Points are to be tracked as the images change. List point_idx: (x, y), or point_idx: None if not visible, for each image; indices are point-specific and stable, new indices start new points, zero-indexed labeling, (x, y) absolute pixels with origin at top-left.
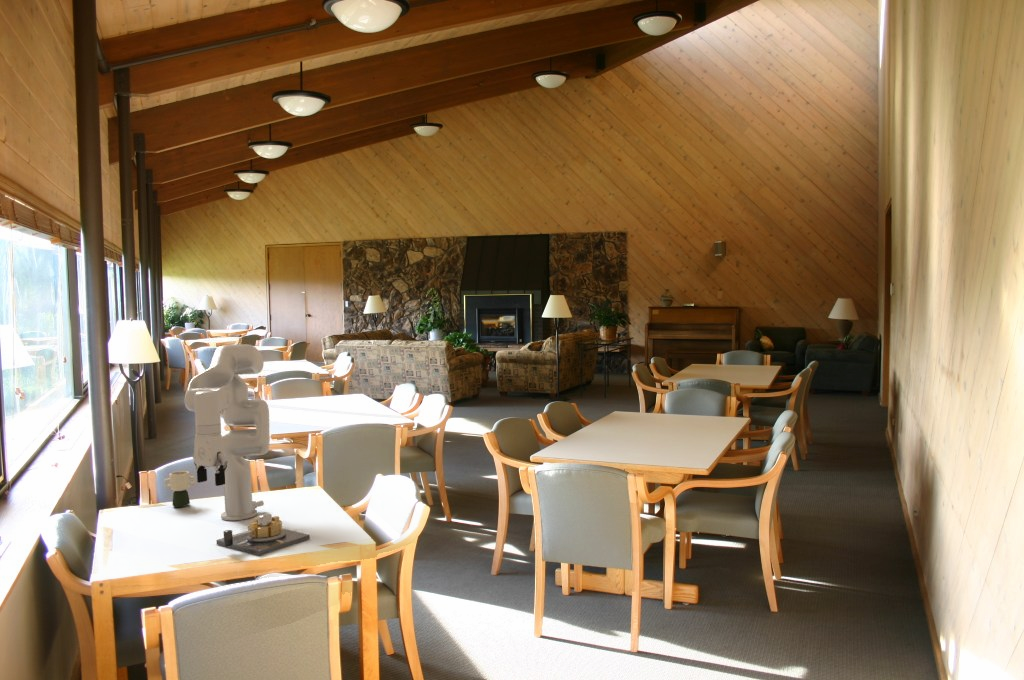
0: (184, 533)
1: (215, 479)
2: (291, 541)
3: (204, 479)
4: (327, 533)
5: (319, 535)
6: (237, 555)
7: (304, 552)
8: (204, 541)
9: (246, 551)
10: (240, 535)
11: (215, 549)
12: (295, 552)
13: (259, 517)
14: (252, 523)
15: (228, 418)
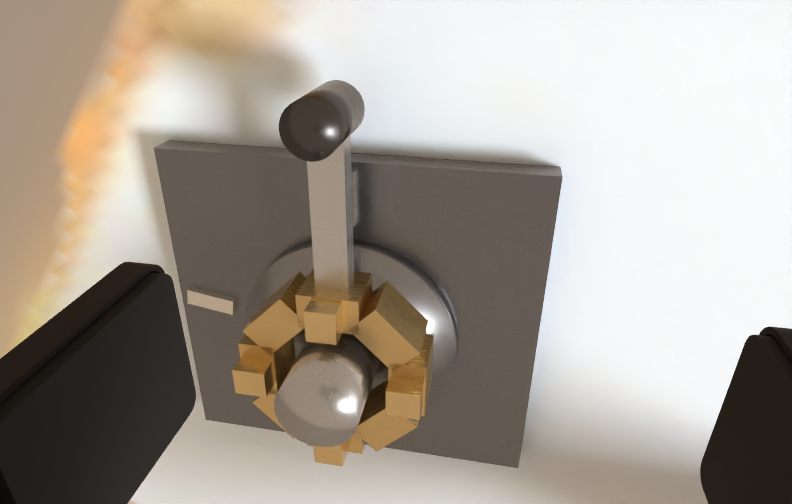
0: None
1: (71, 327)
2: (191, 332)
3: (724, 458)
4: (229, 477)
5: (231, 451)
6: (269, 90)
7: (68, 274)
8: (699, 175)
9: (266, 149)
10: (311, 197)
11: (484, 99)
12: (95, 258)
13: (308, 378)
14: (323, 321)
15: None
